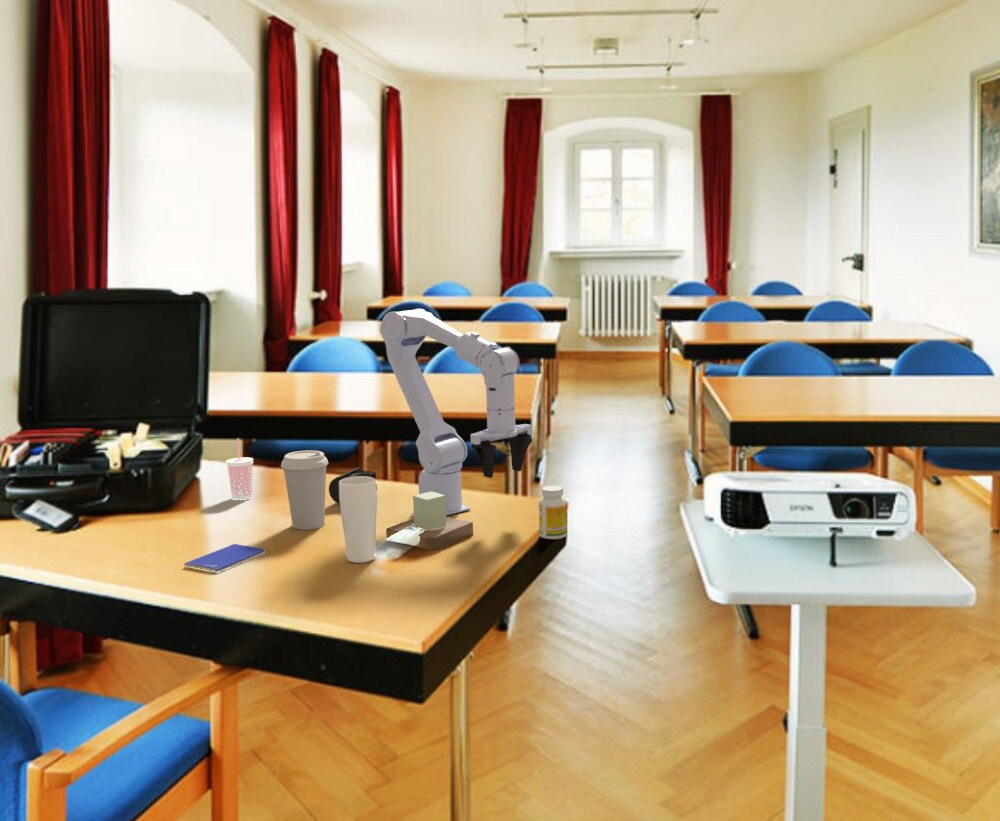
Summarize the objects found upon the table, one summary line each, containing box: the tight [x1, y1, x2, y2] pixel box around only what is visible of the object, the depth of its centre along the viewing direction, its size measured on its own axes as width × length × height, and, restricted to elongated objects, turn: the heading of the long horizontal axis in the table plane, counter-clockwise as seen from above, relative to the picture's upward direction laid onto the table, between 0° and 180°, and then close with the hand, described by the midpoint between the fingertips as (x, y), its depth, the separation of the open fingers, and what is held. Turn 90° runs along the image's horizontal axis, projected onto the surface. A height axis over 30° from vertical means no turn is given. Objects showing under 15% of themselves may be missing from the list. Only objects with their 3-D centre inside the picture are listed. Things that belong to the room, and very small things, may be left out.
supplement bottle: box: [538, 485, 568, 540], centre depth 198 cm, size 5×5×10 cm
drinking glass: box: [339, 476, 378, 564], centre depth 186 cm, size 7×7×15 cm
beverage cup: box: [225, 437, 254, 499], centre depth 233 cm, size 6×6×14 cm
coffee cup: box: [280, 450, 329, 531], centre depth 209 cm, size 10×10×15 cm
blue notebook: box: [184, 543, 266, 572], centre depth 189 cm, size 2×8×12 cm
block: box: [412, 491, 447, 530], centre depth 198 cm, size 4×4×6 cm
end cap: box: [328, 467, 378, 506], centre depth 228 cm, size 10×7×7 cm
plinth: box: [385, 517, 474, 551], centre depth 199 cm, size 12×12×2 cm
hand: (502, 473), depth 208 cm, fingers open, 7 cm apart
